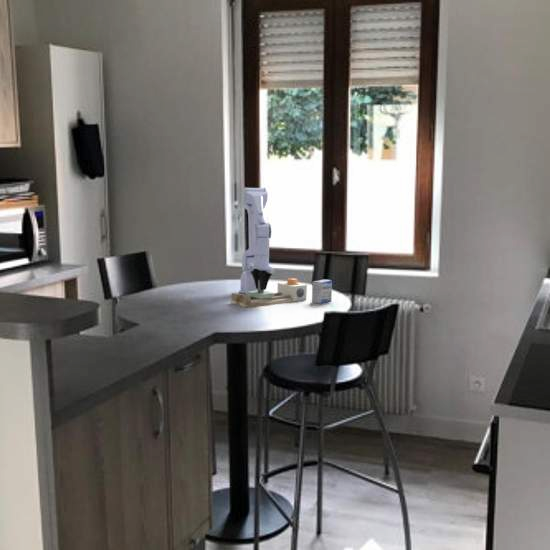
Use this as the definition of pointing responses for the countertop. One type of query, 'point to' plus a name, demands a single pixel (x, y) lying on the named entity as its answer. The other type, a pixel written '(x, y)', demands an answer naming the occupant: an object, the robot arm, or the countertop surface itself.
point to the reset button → (292, 281)
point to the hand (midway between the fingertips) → (260, 289)
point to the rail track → (259, 300)
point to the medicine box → (321, 291)
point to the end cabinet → (293, 290)
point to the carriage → (260, 293)
